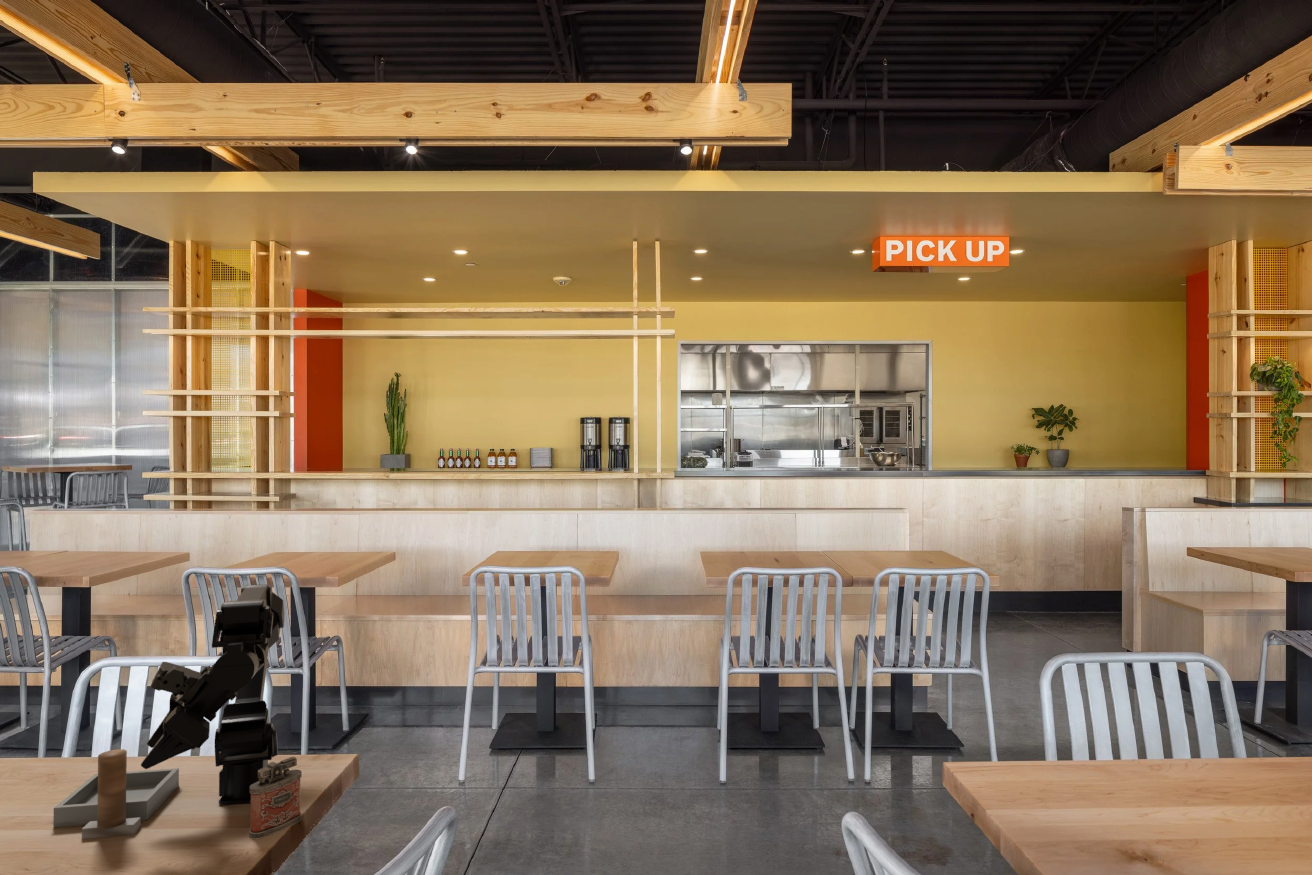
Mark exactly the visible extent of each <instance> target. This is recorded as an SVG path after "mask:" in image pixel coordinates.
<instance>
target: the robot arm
mask: <svg viewBox="0 0 1312 875" xmlns="http://www.w3.org/2000/svg"><path fill="white" fill-rule="evenodd" d="M284 627H285V605H284V600H283V599H282V598H281V597H280V596H279V595H278V594H276V593H275V592H273V587H272V584H271V585H269V584H267V583H265V584H247V585H244V586H241V590H240V594H239V596H238V598H236V600H229V601H224V602H223V603H222V604H221V606H220V609H218V608H217V610H216V613H215V619H214V627H213V634H212V640H211V641H212V642H211V648H212V649H215V648H222V654H221V655H220V657H219V658H218V659H217V660H216V661H215V662H214V663H213V665H208V666H204V667H203V668H202V670H200V671H197V670H194V669H191V668H189V667H185V666H181V665H178V664H174V663H171V662H169V661H168V662H167V661H162V662H161V664H160V665H159V667H158V670H157V671H156V674H155V675H154V677H153V679H152V680H151V684H150V688H152V689H153V690H155V691H159V692H160V691H164V692H168V693H171V695H170V697H169V709H168V710H169V711H168V712H167V713H166V715H165V716H164V718H163V719H162V720H161V722H160V724H158V726H157V728H156V730H155V731H154V733H153V734H152V736H151V737H150V738H149V740H148V741H147V743H146V744H147V746H148V747H150V748H151V750H150V751H149V752H148V754H147V755H146V756H145V758H144V759H143V760H142V761H141V763H140V767H141V768H143V769H144V770H148V769H150V768H152V767H155V766H157V765H159V764H161V763H163V762H165V761H168V760H169V759H172V758H174V757H175V756H178V755H179V756H180V754H183V753H185V752H187V751H190V750H195V749H196V748H197V749H200V748H201V747H202V746H203V744H205V743H206V742H207V741H208V739H209V738H210V730H211V728H210V726H211V724H210V723H211V722H212V721H213V720H214V719H215V718H216V717H217V712H218V711H219V710H220V709H221V708H222V707H223V706H224V705H225V704H226V703H227V702H228V701H233V700H235V701H234V703H227V704H226V705H225V706H224V708H223V713H222V715H221V716H222V717H221V721H220V727H219V728H216V729H215V733H214V755H215V756H214V757H215V760H214V762H215V767H220V766H222V769H221V770H220V771H219V773H218V783H219V784H218V796H219V797H220V798H219V800H218V805H228V804H229V805H231V804H241V803H242V804H243V803H251V793H250V785H252V784H254V783H256V782H258V781H259V778H258V770H260V769H262V768H265V767H267V765H268V764H269V761H272V759H273V758H274V757H276V756H278V747H279V746H278V733H277V730H276V729H275V727H274V724H273V722H270V715H269V709H268V707H267V703H266V701H265V700H264V693H265V686H266V685H265V682H266V675H267V668H268V667H267V666H268V658H269V650H270V649H271V647H272V646H274V645H275V643H277V642H278V641H279V640H280V634H281V633H280V632H281V629H283V628H284Z"/></svg>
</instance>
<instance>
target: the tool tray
mask: <svg viewBox="0 0 1312 875" xmlns="http://www.w3.org/2000/svg"><path fill="white" fill-rule="evenodd" d="M179 779H180V768H177V767H176V768H166V769H165V768H164V769H163V768H162V769H149V770H148V769H146V770H136V771H135V770H134V771H126V818H139V817H141V821H147V820H148V819H150V818H151V816H152V815H154V813H155V812H156V810H158V809H159V807H160V806H162V804H163V803H164V802H165V801H166V800H167V799H168V798H169V797H170V795H172V794H173V792H175V790H176V789H178V787H179V785H180V782H179V781H180V780H179ZM97 806H98V773H94V774H93V775H92V776H91V777H90V778H88V779H87V780H86V781H84V782H83V784H81V785H80V786H79V787H78V788H76V789H75V790H74V791H73V792H71V793H70V794H69V795H68V796H67V797H65V798H64V799H62V801H61V802H59V803H58V804H57V805H56V806H54V807H53V822H52V823H53V828H65V827H77V826H78V827H79V826H85V825H87V824H88V823H89V822H90V821H97Z"/></svg>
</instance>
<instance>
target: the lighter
mask: <svg viewBox="0 0 1312 875" xmlns="http://www.w3.org/2000/svg"><path fill="white" fill-rule="evenodd" d="M297 765H298V759H297V757H296V756H290V757H288V758H287V757H286V758H284V759H282V760H280V761H279V762H275V761H271V762H268V765H267V767H265V768H262V769H260V770H258V778H259V781H258V782H256V783H254V784H252V785H250V793H251V802H250V829H248V830H249V831H248V837H249V838H250V839H252V840H260V839H262V838H266V837H269V836H271V835H274V834H277V833H279V832H281V831H284V830H286V829H289V828H290V827H292V826H294V825H296V824H297V823H300V821H302V813H301V778H302V773H303V772H302V770H300V769H291V768H294V767H296V766H297Z"/></svg>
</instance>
